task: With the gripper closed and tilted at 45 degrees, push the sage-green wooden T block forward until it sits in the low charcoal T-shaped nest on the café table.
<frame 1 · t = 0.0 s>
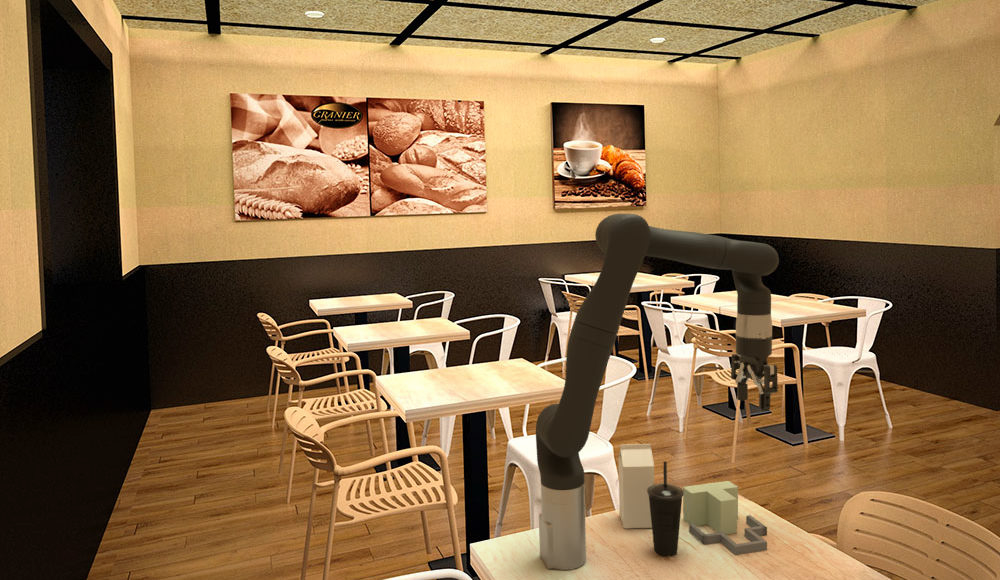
hand: (753, 405, 159), 29 cm above the table, tool pointing down, fingers open, 8 cm apart
drinking cup: (665, 552, 154), on the table
t block: (717, 524, 165), on the table
milk carton: (636, 522, 168), on the table
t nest: (733, 538, 159), on the table
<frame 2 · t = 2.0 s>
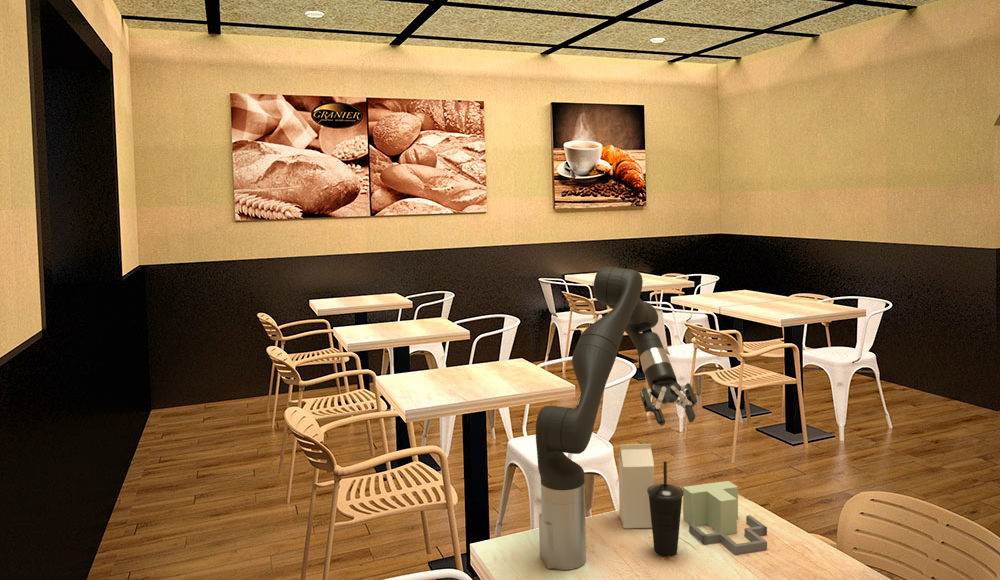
hand: (677, 422, 182), 19 cm above the table, tool tilted 45°, fingers open, 7 cm apart
nothing on the table moved.
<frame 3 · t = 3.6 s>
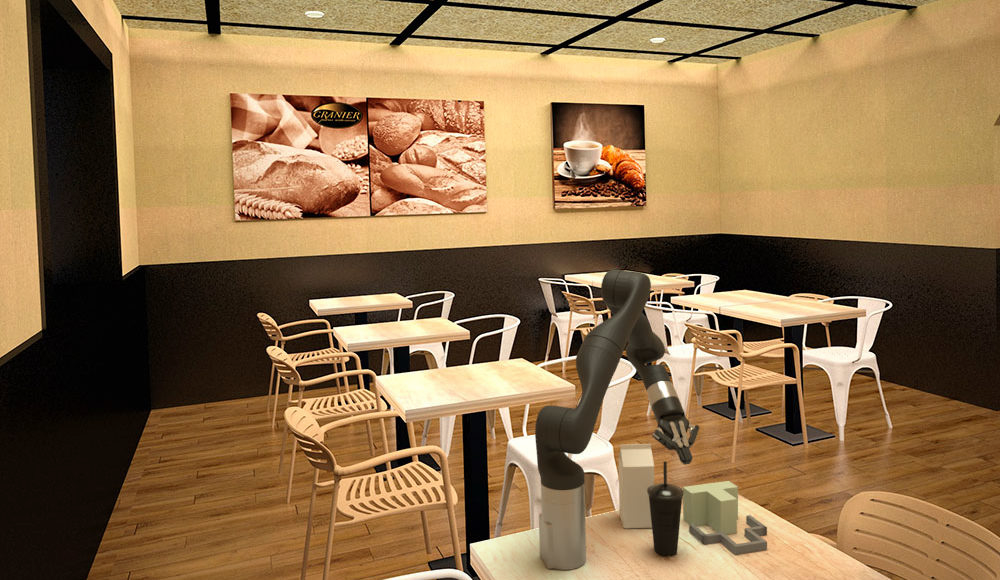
hand: (687, 463, 177), 10 cm above the table, tool tilted 45°, fingers closed
nothing on the table moved.
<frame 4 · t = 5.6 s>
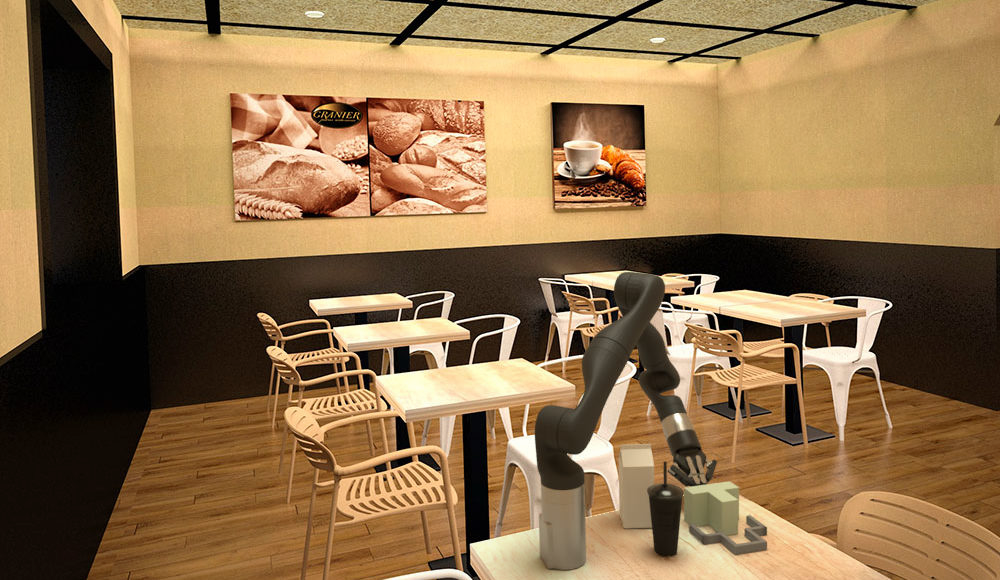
hand: (705, 500, 170), 4 cm above the table, tool tilted 45°, fingers closed
t block: (718, 525, 165), on the table, touching gripper
everything else where it was.
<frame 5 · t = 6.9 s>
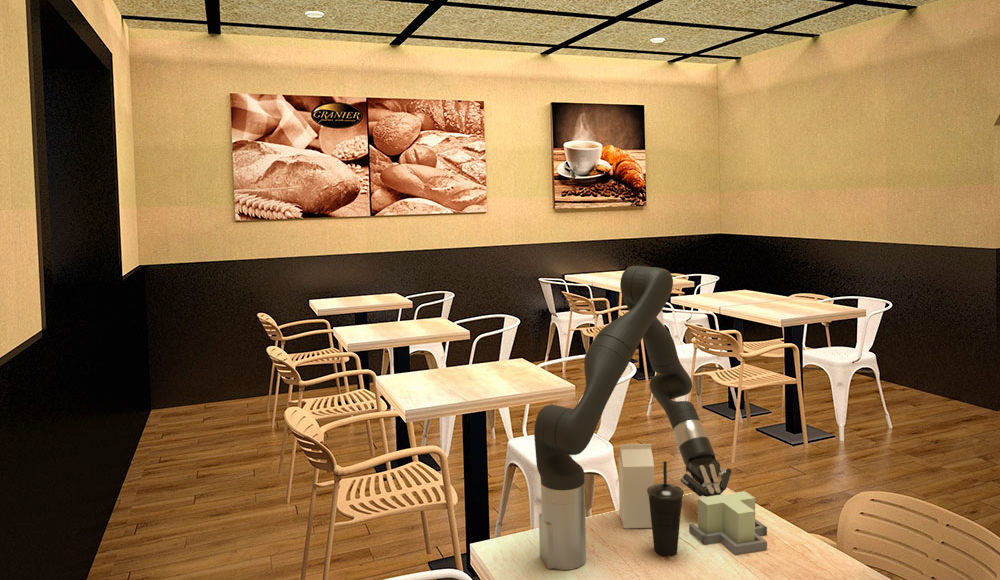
hand: (719, 511, 164), 4 cm above the table, tool tilted 45°, fingers closed
t block: (733, 537, 159), on the table, touching gripper
everything else where it was.
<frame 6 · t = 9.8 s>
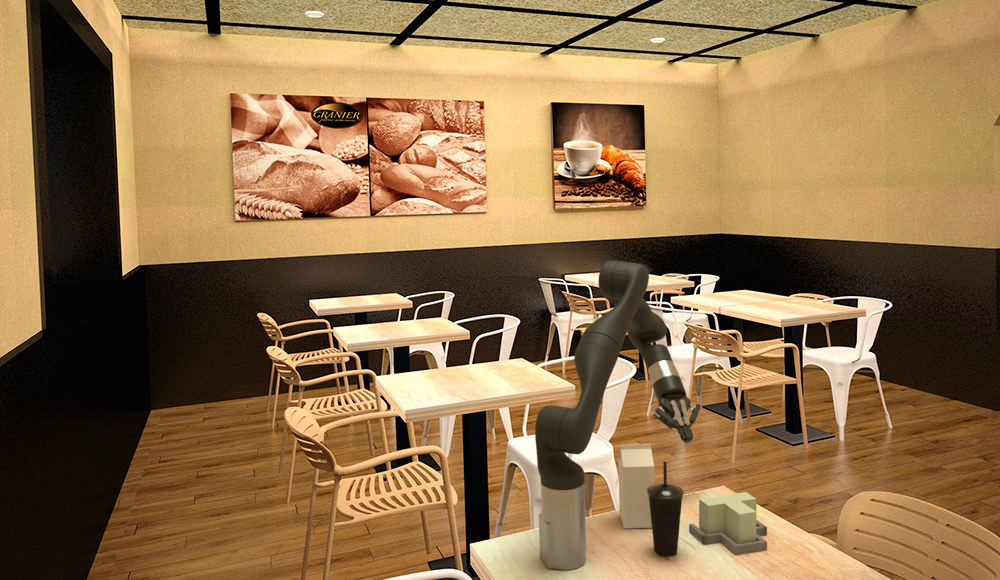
hand: (688, 441, 177), 16 cm above the table, tool tilted 45°, fingers closed
t block: (735, 538, 158), on the table
everything else where it was.
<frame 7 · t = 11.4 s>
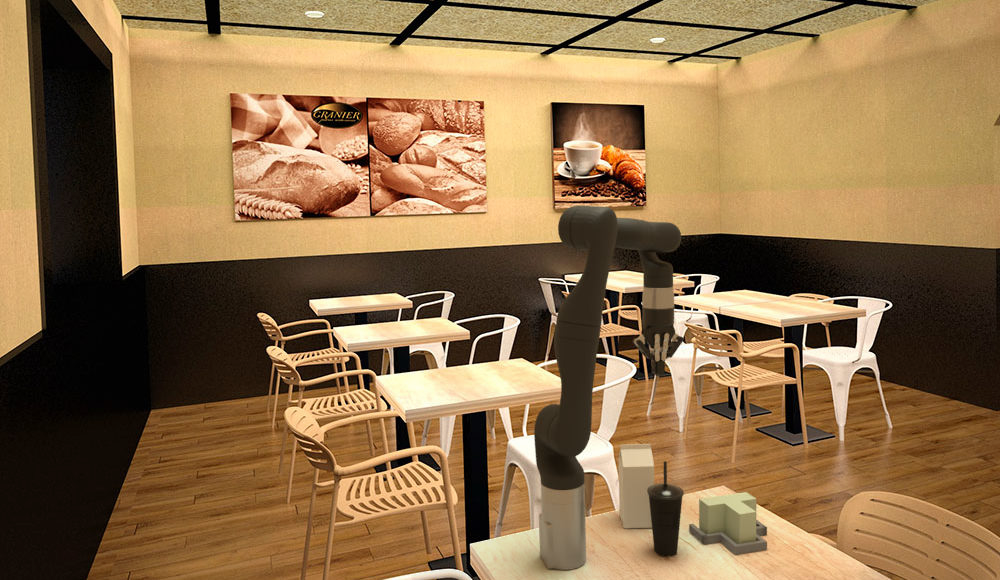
hand: (658, 375, 175), 33 cm above the table, tool pointing down, fingers closed
nothing on the table moved.
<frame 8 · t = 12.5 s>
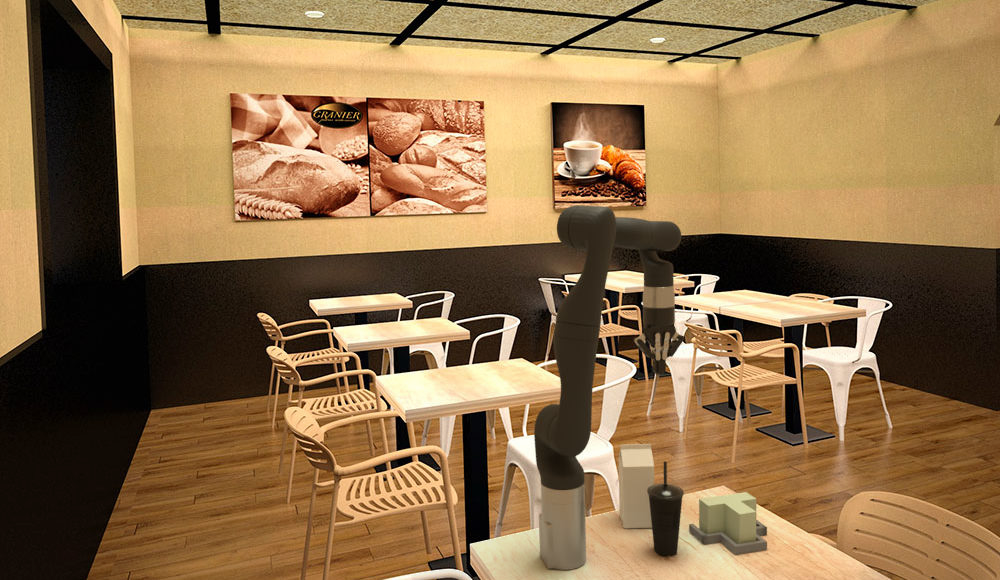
hand: (659, 374, 174), 33 cm above the table, tool pointing down, fingers closed
nothing on the table moved.
at the end: t block 0.2 cm off-centre on the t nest, point 0.0 cm above the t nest's base; t block tilted 0° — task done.
